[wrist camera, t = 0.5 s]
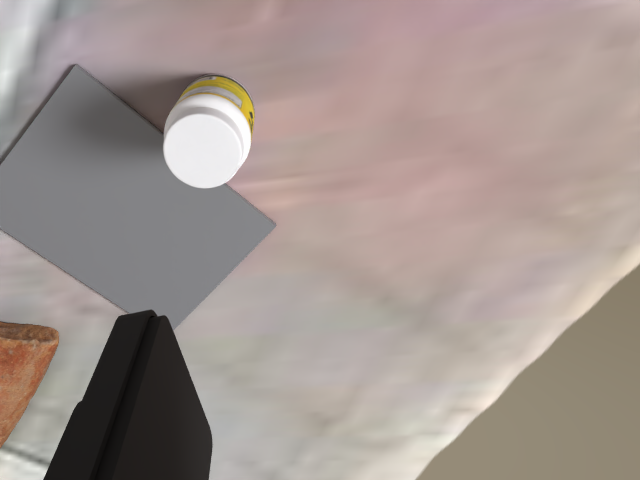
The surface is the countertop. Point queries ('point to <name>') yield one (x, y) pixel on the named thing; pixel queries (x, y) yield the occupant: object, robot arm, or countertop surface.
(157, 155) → the mat
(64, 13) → the countertop surface
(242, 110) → the supplement bottle
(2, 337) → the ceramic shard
